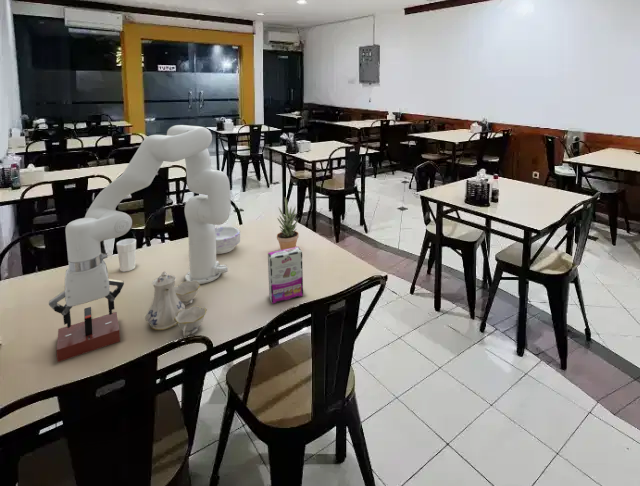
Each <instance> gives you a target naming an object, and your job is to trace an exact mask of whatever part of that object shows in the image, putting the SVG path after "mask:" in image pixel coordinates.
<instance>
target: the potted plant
mask: <svg viewBox="0 0 640 486" xmlns="http://www.w3.org/2000/svg"><path fill="white" fill-rule="evenodd" d="M284 208H285V210H284V213H283V211H282V210H281V208H280V207H278V210H279V213H280V214H281V216H280V215H279V216H278V217H277V221H278V223H279V224H280V226H279V228H280V232H278V233H277V234H276V240H277V241H278V244H279V247H280V250H284V249H289V248H294V247H297V242H298V238H299V237H300V236H299V234H300V233H299V232H298V231H297V228H296V227H297V226H298V221H299V219H300V217H298V218H297V219H296V216H297V213H296V207H294V208H293V209H292V207H290V208H289V205H288V199H287V197H284ZM295 219H296V221H295ZM294 221H295V222H294Z"/></svg>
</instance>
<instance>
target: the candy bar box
mask: <svg viewBox="0 0 640 486" xmlns="http://www.w3.org/2000/svg"><path fill="white" fill-rule="evenodd" d="M303 269H304V268H303V251H302V250H301V248H300V247H299V246H296V247H294V248H289V249H284V250H281V249H279V250H275V251H271V252H267V270H268V271H267V272H268V298H269V300H270V303H271V304H272V305H273V304H277V303H281V302H285V301H288V300H292V299H296V298H299V297H303V296H304V279H303V277H304V274H303V273H304V272H303Z"/></svg>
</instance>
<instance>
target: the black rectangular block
mask: <svg viewBox="0 0 640 486" xmlns="http://www.w3.org/2000/svg"><path fill="white" fill-rule="evenodd" d="M83 309H84V310H83V311H84V312H83V315H84V319H83V320H84V321H85V336H88V335H91V334H93V333H92V319H93V316H92V315H93V314H92V306H89V307H84V308H83Z"/></svg>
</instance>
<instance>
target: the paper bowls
mask: <svg viewBox="0 0 640 486" xmlns="http://www.w3.org/2000/svg"><path fill="white" fill-rule="evenodd" d="M215 231H216V255H221V254H227V253H230V252H232V251H233V250H234V249H235V248H236V246H238V245H239V244H240V243H241V229H239V228H238V227H235V226H219V227H218V226H217V227H215Z"/></svg>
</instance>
